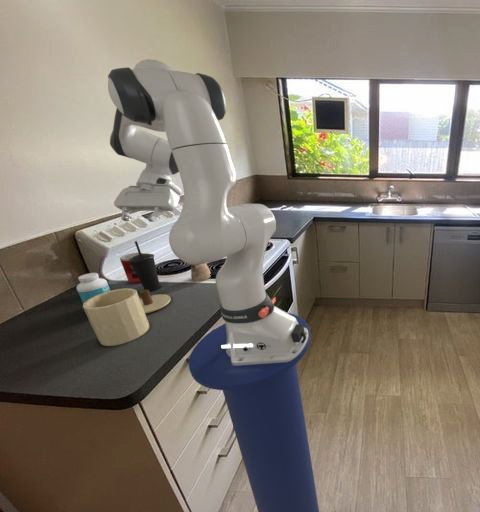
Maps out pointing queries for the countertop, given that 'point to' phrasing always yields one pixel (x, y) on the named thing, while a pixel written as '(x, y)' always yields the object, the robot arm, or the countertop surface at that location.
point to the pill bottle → (91, 286)
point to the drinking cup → (145, 270)
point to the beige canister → (116, 316)
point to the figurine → (200, 272)
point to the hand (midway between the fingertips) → (138, 220)
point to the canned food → (129, 268)
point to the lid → (153, 301)
